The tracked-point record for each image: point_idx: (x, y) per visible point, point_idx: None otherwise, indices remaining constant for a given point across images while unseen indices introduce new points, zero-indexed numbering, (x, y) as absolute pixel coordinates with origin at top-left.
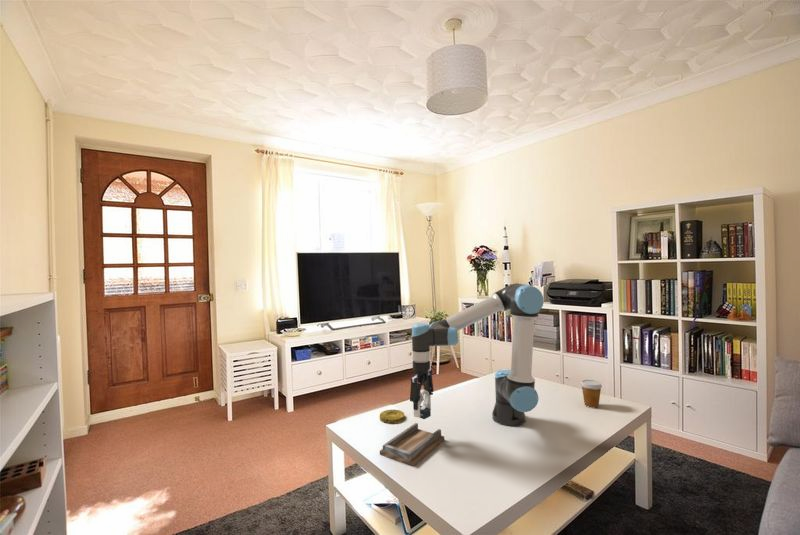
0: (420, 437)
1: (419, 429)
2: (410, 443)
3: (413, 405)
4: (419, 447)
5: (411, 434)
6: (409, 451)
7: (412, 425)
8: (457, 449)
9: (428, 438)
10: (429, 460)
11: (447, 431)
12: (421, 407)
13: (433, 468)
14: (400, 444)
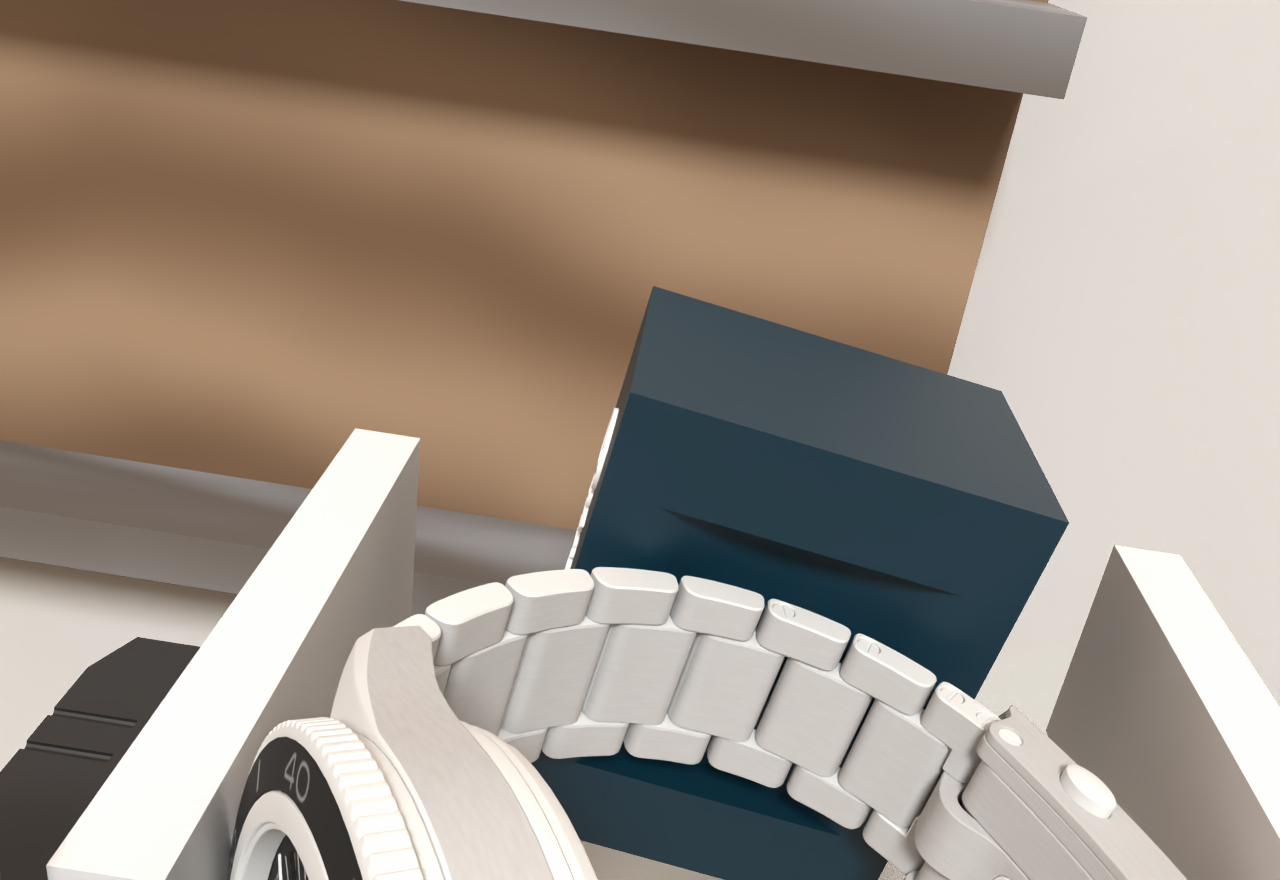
0: (640, 300)
1: (1012, 121)
2: (310, 212)
3: (1, 777)
4: (51, 558)
5: (692, 48)
6: (44, 325)
7: (889, 6)
8: (637, 864)
9: (422, 601)
10: (148, 627)
11: (1219, 599)
12: (802, 656)
13: (12, 728)
14: (156, 27)
